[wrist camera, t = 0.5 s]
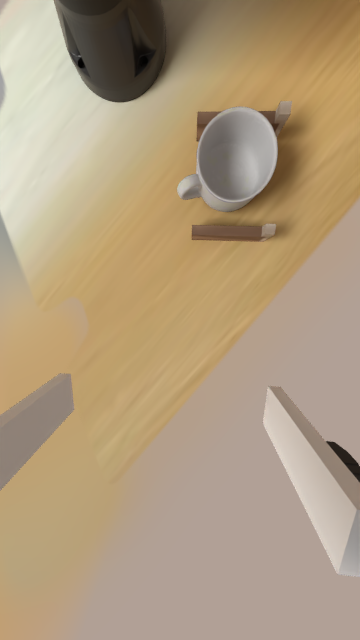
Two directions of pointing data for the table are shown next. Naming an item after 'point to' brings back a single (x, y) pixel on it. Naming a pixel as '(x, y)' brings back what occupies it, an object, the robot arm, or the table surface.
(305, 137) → the table surface
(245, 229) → the brown parallel rails
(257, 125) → the teacup
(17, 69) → the table surface
